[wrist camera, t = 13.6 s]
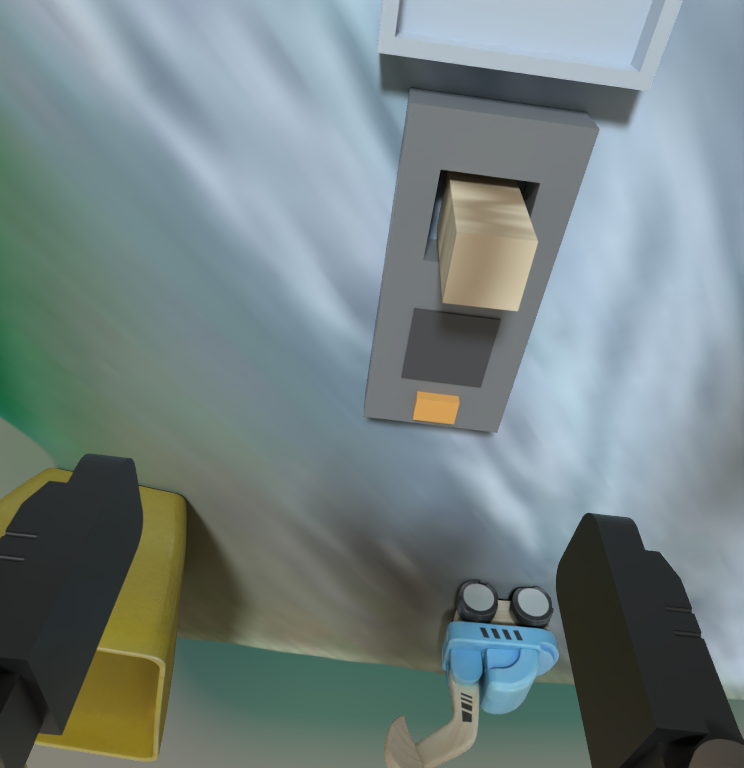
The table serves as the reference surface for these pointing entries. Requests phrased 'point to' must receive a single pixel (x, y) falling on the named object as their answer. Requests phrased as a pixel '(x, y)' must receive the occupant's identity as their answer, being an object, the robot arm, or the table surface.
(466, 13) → the tray
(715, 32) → the table surface
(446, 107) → the power strip
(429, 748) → the toy excavator
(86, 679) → the flower pot
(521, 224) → the plug peg
